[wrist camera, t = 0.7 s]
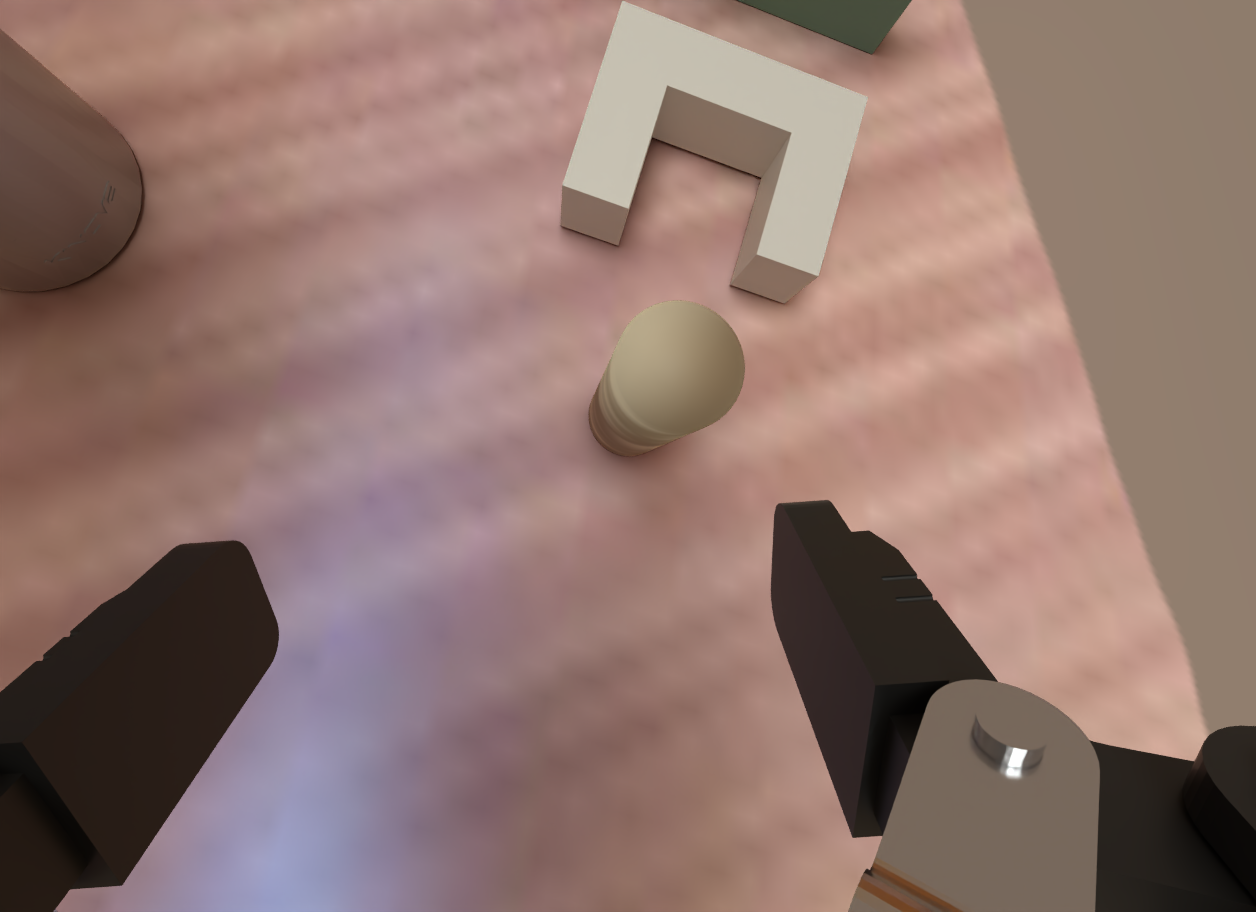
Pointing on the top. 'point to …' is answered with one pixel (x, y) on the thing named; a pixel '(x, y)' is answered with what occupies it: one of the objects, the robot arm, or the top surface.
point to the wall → (840, 18)
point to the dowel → (666, 378)
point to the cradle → (716, 141)
